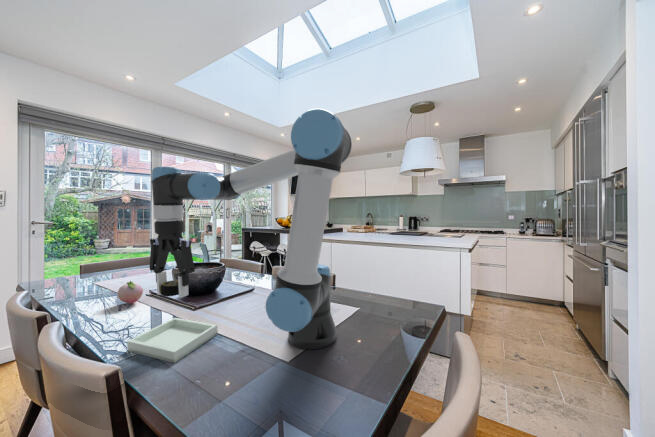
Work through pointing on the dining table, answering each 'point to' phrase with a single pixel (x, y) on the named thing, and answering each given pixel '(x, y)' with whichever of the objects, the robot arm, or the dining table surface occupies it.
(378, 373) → the dining table surface
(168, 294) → the tape measure
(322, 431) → the dining table surface
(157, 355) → the tray
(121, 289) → the decorative fruit
